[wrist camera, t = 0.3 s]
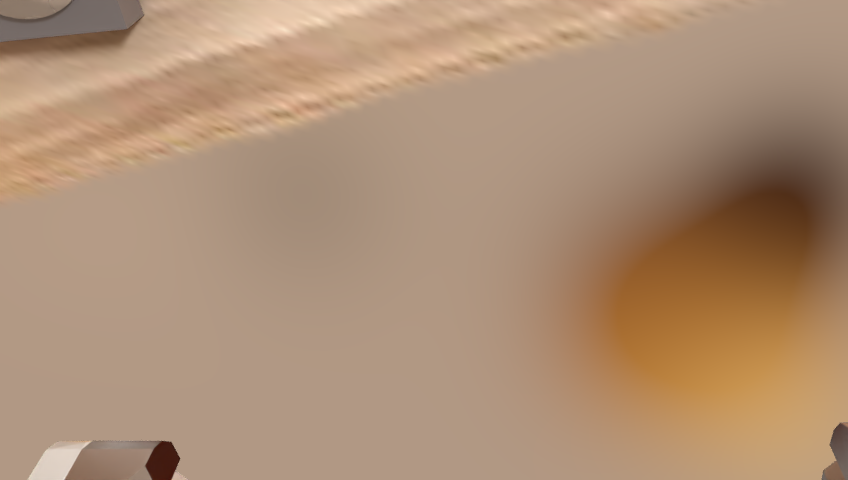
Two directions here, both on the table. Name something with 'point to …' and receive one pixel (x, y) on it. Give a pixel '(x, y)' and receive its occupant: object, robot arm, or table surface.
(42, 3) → the scale pan
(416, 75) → the table surface
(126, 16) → the scale base
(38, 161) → the table surface
